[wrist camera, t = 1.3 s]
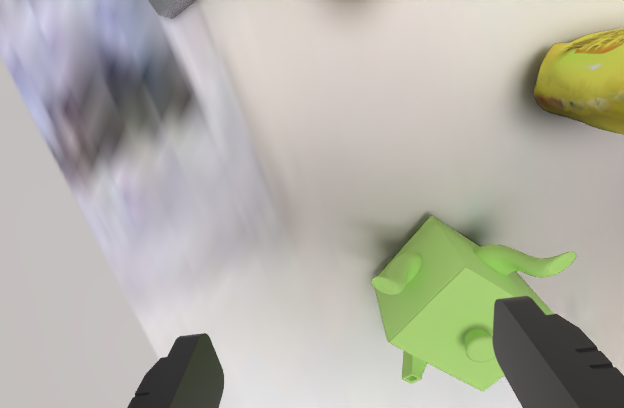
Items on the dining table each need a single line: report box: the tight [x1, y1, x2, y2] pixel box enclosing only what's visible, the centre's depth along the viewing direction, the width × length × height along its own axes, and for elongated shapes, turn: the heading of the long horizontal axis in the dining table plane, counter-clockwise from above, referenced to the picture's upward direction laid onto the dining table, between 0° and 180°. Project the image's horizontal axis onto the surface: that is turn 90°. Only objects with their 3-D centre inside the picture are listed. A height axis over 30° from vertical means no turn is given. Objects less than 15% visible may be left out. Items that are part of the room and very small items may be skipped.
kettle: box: [371, 215, 576, 392], centre depth 30 cm, size 15×14×11 cm
